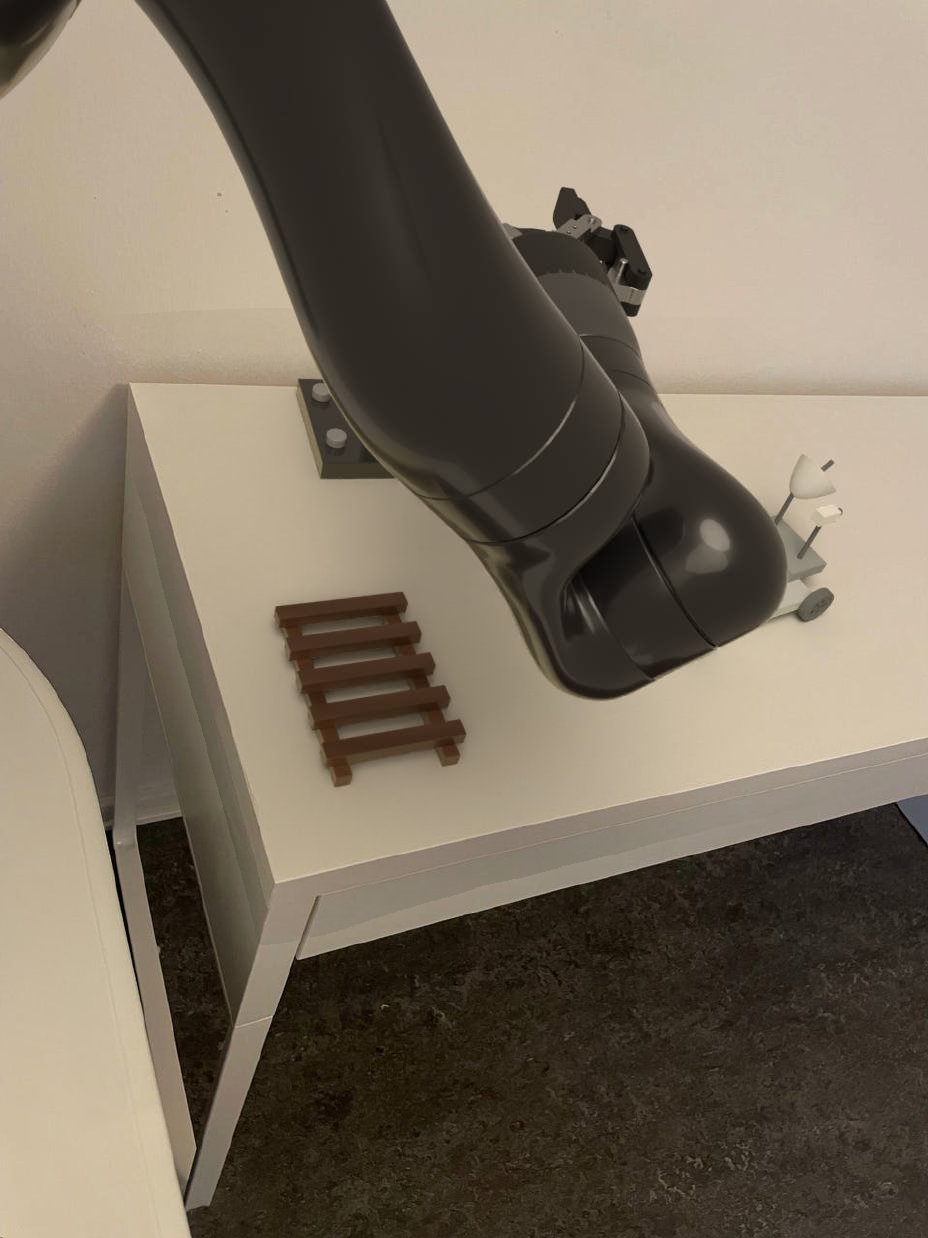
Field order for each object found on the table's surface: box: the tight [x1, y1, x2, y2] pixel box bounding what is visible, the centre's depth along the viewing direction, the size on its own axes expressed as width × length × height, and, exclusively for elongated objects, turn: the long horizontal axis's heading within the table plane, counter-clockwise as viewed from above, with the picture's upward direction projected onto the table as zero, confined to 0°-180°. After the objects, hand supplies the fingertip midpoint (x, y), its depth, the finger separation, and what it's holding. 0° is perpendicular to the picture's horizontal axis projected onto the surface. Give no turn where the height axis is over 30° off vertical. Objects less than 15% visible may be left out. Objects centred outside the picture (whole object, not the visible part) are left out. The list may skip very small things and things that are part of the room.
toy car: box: [771, 453, 844, 622], centre depth 79 cm, size 18×10×12 cm
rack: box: [273, 591, 467, 788], centre depth 66 cm, size 14×9×2 cm, turn 21°
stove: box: [295, 378, 396, 480], centre depth 86 cm, size 16×11×2 cm
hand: (494, 191), depth 62 cm, fingers open, 8 cm apart
